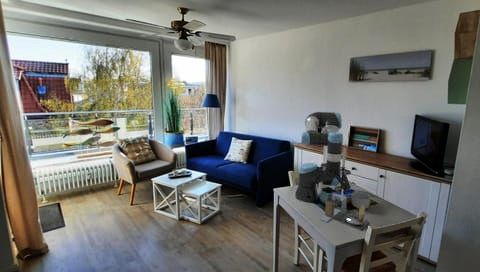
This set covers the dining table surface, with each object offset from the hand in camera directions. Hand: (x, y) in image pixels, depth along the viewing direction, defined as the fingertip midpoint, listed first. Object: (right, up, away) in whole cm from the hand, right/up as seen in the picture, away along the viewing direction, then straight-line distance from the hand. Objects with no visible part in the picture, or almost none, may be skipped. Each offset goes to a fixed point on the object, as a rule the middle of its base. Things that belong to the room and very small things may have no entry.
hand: (330, 196), depth 144 cm
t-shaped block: (+3, -12, +5) cm, 13 cm away
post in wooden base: (+5, -11, +7) cm, 14 cm away
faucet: (+12, -13, -4) cm, 18 cm away
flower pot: (+5, -9, +20) cm, 22 cm away
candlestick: (+23, -5, +41) cm, 47 cm away
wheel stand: (+12, -14, -4) cm, 19 cm away
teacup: (+24, -10, +16) cm, 31 cm away
